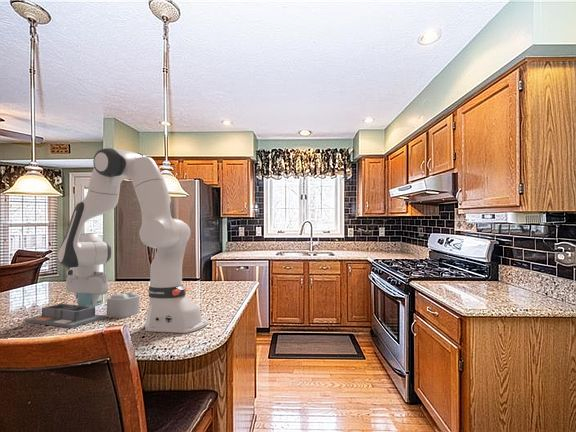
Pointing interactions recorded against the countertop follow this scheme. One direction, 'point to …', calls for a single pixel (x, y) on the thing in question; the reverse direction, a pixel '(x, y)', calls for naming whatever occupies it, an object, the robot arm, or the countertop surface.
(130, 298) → the lumpy-topped squat cylinder
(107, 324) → the countertop surface
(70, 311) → the socket board
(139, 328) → the countertop surface
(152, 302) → the robot arm
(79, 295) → the teal upright block
